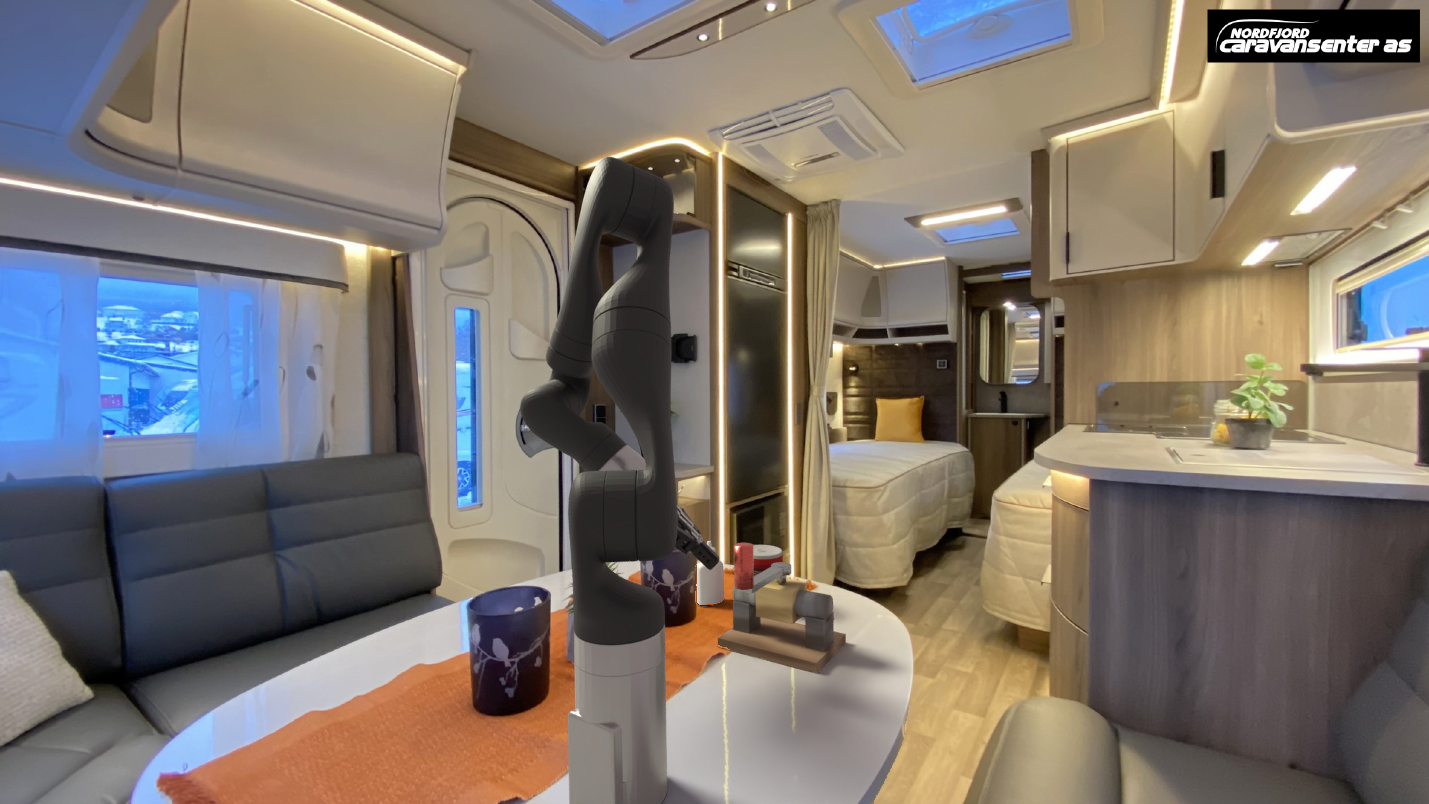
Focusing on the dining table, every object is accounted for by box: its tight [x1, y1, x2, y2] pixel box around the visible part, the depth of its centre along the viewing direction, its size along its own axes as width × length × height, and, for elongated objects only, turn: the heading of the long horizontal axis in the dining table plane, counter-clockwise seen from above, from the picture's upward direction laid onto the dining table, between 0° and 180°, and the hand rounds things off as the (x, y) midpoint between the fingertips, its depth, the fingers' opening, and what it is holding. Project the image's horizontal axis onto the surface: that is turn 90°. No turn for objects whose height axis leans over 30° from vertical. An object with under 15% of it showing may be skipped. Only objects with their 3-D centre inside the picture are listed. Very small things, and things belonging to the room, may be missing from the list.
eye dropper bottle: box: [696, 540, 725, 606], centre depth 115 cm, size 4×6×12 cm
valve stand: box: [717, 577, 847, 674], centre depth 95 cm, size 12×17×10 cm
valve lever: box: [733, 542, 792, 594], centre depth 90 cm, size 15×3×9 cm, turn 147°
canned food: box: [753, 544, 784, 576], centre depth 112 cm, size 8×8×11 cm
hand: (715, 564), depth 87 cm, fingers closed
